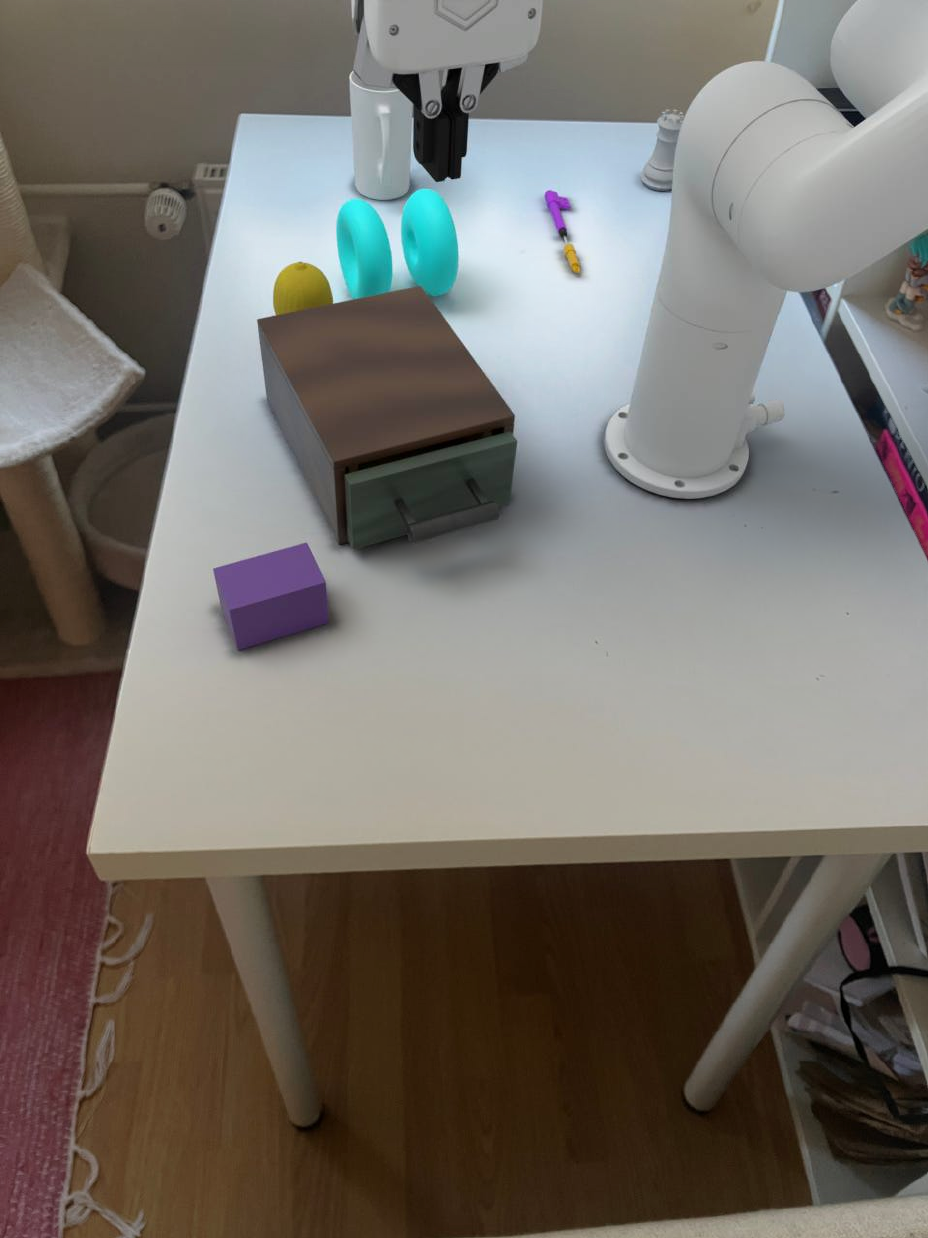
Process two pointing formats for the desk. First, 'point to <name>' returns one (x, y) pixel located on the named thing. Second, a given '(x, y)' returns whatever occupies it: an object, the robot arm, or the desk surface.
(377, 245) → the donuts
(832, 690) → the desk surface
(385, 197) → the mug
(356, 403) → the desk cabinet
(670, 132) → the rook chess piece
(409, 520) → the drawer
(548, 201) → the purple and yellow tool
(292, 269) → the lemon
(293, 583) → the purple block
